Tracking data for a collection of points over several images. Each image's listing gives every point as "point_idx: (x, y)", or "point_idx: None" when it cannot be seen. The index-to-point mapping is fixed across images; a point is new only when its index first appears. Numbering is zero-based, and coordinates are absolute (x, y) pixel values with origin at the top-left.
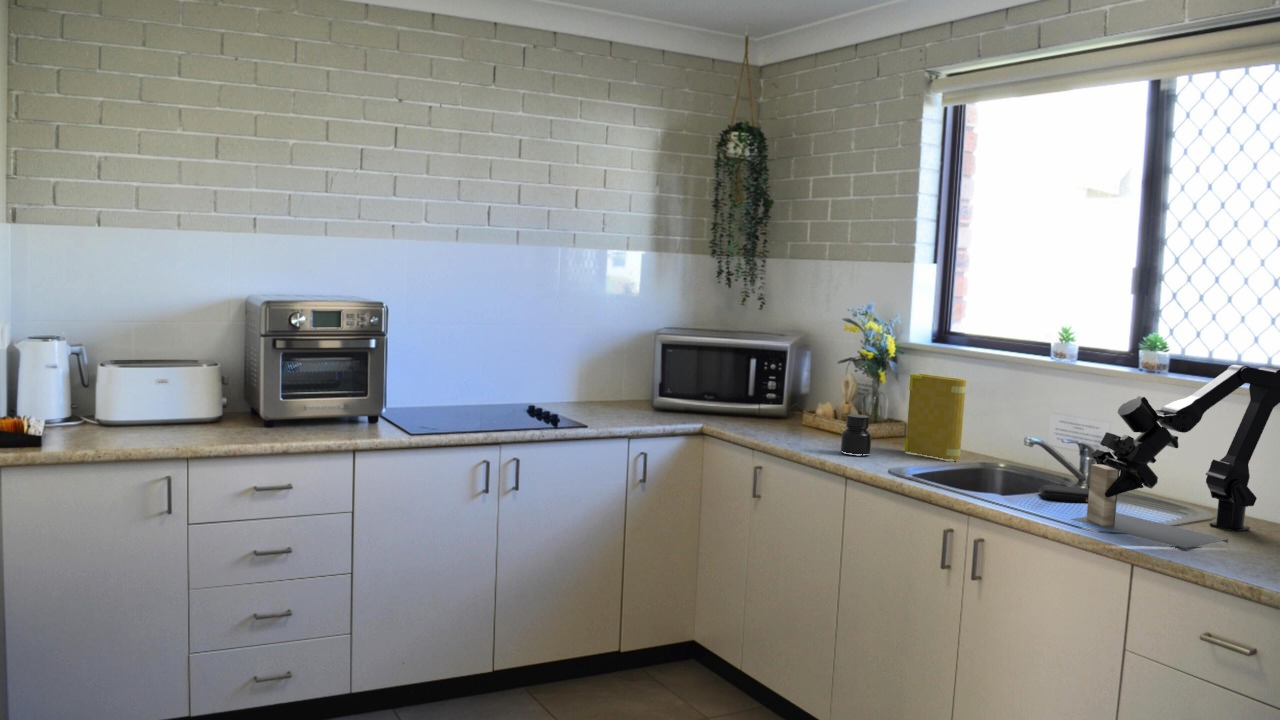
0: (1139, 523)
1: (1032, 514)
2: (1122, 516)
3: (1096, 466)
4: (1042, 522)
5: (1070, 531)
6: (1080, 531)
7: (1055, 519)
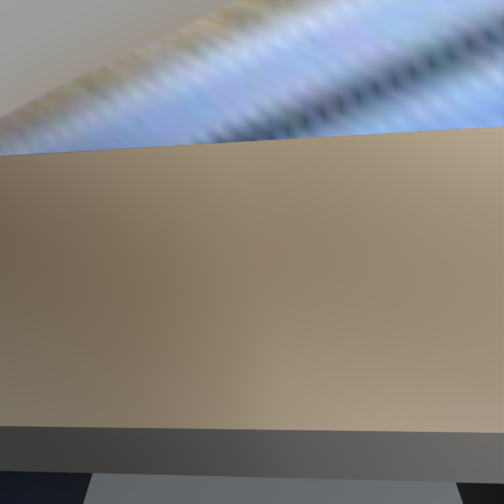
0: (271, 486)
1: (444, 47)
2: (421, 490)
3: (358, 142)
4: (290, 29)
5: (146, 82)
6: (150, 126)
7: (356, 115)
